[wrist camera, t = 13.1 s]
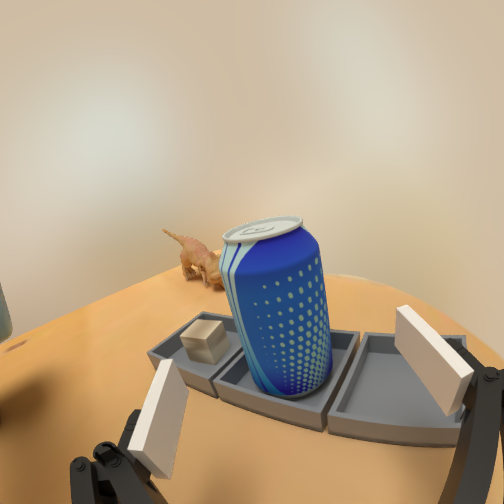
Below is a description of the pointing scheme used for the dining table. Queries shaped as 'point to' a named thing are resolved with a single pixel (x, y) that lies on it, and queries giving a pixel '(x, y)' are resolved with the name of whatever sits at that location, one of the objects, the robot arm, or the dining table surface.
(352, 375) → the tray
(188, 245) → the toy
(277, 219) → the beer can
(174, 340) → the tray
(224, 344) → the beige cube
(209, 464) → the dining table surface
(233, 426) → the dining table surface
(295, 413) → the tray middle
